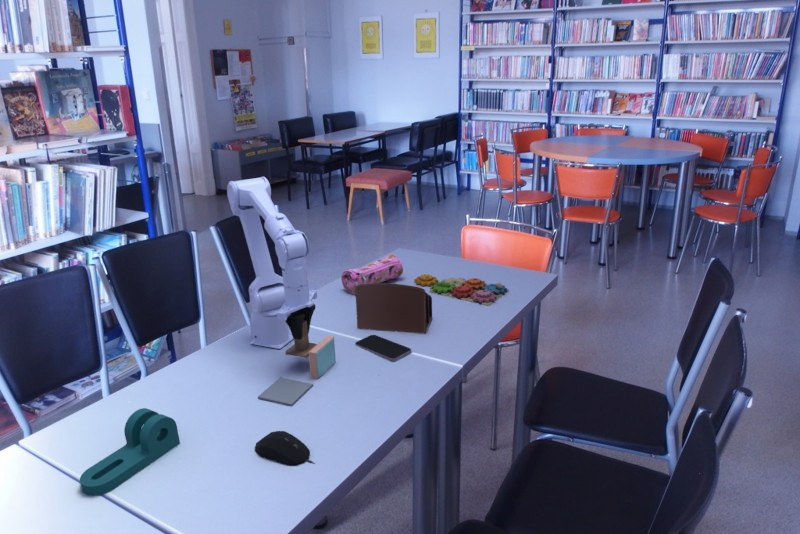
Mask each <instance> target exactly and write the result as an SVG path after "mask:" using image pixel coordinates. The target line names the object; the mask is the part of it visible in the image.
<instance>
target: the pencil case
mask: <svg viewBox="0 0 800 534" xmlns="http://www.w3.org/2000/svg"><path fill="white" fill-rule="evenodd" d="M403 266H404V263H403V261H401V259H400V258H398V256H397V255H395V254H394V253H393V254H392V253H391V254H387V255H386V256H384V257H382V258H381V259H378V260H375V261H372V262H370V263H369V264H366V265H364V266H361V267H360V268H348V269H345V270H344V271H343V272H342V274H341V284H342V286H343V288H344V289H345V291H347V292H348V293H349V294H350V295H353V296H354V295H355V296H356V292H355V288H356V286H357V285H360V284H371V283H385V282H386V281H390V280H394V279H398V278H399V277H401V276H402V275H403V273H404V267H403Z"/></svg>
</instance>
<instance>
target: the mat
mask: <svg viewBox="0 0 800 534" xmlns="http://www.w3.org/2000/svg"><path fill="white" fill-rule="evenodd" d="M312 387H314V383H309V382H305V381H300V380H295V379H291V378H285V377H281V376H280V377H279V378H278V379H276V380H275V381H274V382H273V383H272V384H271V385H269V386H268V387H267V388H266V389H264V391H263V392H261V393H260V394H259V395H257V399H258V400H262V401H267V402H271V403H276V404H281V405H284V406H289V407H293V406H294V405H295V404H296V403H297V402H298V401H300V399H301V398H302V397H303V396H304V395H306V393H307V392H308V391H309V390H310V389H312Z"/></svg>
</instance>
